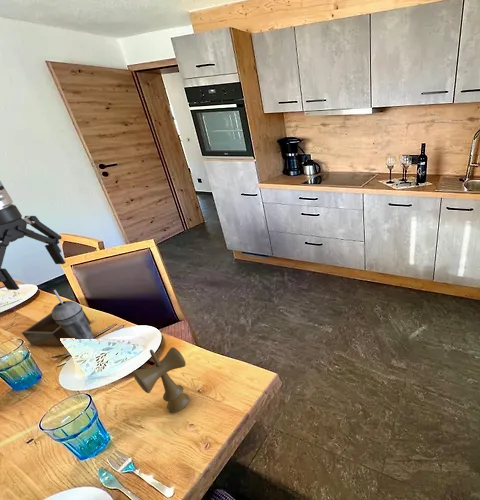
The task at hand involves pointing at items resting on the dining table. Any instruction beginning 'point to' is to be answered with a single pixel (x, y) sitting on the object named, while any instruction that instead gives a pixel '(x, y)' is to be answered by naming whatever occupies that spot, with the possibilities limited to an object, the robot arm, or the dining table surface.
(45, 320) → the crate
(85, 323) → the beverage cup
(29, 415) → the dining table surface
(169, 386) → the kendama
